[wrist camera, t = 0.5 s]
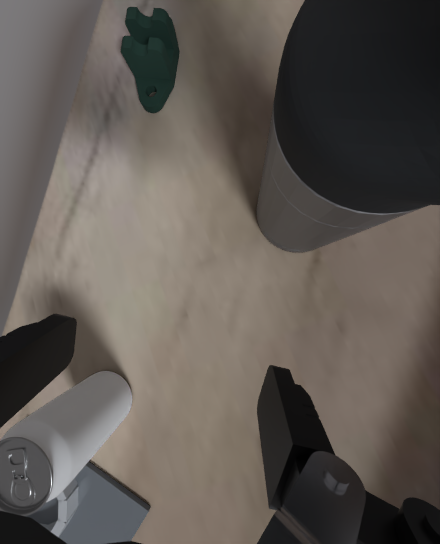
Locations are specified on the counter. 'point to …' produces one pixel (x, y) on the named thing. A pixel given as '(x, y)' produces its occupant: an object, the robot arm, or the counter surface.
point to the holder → (93, 510)
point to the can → (59, 441)
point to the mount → (151, 55)
